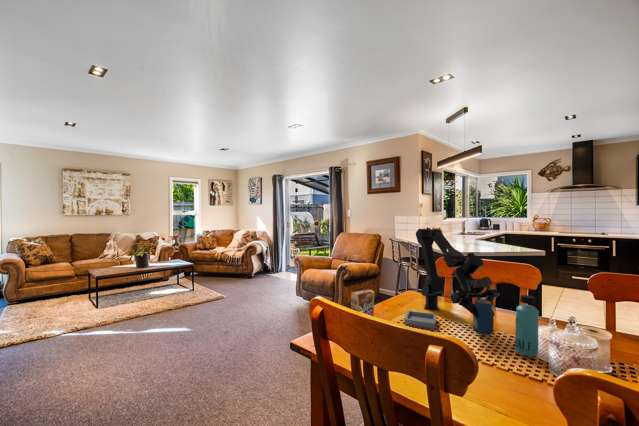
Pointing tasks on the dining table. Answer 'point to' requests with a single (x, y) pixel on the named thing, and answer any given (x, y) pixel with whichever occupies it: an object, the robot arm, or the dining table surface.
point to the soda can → (483, 317)
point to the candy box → (363, 301)
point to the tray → (420, 319)
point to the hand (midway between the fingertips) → (486, 316)
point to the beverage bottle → (527, 327)
